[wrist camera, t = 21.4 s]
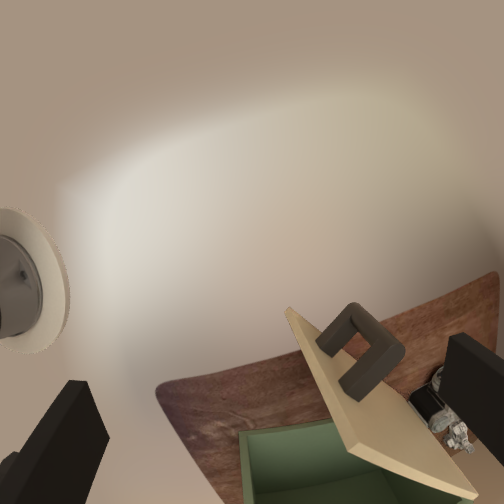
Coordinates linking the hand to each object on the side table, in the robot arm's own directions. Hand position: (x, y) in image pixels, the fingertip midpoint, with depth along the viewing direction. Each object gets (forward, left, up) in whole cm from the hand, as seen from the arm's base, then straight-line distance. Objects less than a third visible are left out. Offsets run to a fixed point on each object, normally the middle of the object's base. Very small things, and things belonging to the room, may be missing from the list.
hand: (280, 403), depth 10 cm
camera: (+40, -6, -29) cm, 50 cm away
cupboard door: (+22, -5, -29) cm, 36 cm away
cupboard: (+27, -27, -29) cm, 48 cm away
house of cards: (+54, -18, -29) cm, 64 cm away
